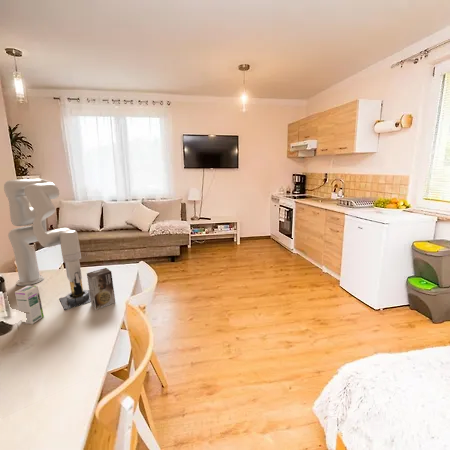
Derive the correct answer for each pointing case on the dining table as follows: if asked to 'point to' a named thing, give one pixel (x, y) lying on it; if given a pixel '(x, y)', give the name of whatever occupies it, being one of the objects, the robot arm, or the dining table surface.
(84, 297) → the ring fixture
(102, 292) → the coffee box
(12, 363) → the dining table surface
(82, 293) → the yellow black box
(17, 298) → the syrup box
